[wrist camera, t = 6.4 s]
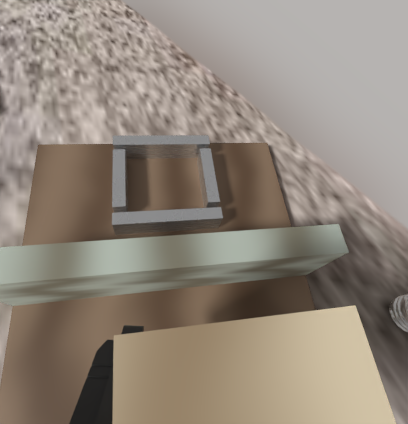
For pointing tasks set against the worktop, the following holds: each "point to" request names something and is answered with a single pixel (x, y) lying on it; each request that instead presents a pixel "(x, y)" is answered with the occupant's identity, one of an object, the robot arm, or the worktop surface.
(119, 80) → the worktop surface
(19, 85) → the worktop surface
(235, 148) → the door mockup
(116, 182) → the keeper socket
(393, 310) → the light bulb
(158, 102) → the worktop surface
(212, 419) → the block
